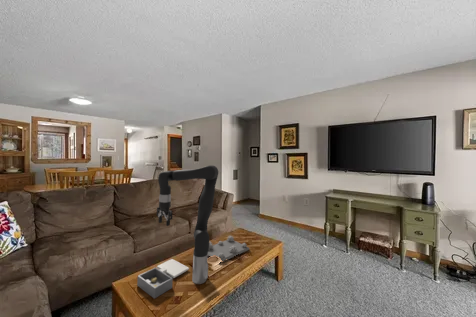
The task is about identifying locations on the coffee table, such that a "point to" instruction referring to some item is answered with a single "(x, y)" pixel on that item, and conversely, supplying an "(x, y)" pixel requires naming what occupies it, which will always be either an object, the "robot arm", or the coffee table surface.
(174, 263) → the lid
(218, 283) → the coffee table surface
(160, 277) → the tub
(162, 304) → the coffee table surface
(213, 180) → the robot arm
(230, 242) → the grey knobbed board
